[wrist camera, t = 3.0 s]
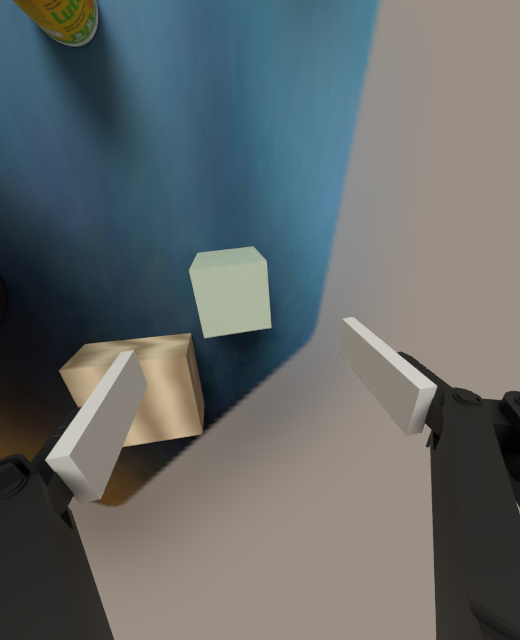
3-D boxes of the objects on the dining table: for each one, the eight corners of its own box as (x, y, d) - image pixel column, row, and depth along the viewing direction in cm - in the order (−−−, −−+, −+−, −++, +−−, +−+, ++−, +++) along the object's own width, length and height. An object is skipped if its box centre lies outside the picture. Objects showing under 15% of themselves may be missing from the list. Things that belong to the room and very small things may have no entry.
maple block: (117, 416, 38) (100, 450, 32) (85, 343, 31) (58, 370, 26) (204, 403, 39) (202, 434, 34) (191, 332, 33) (185, 355, 28)
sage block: (208, 305, 32) (204, 338, 24) (197, 252, 28) (189, 270, 20) (258, 298, 32) (271, 327, 24) (253, 246, 29) (266, 261, 21)
